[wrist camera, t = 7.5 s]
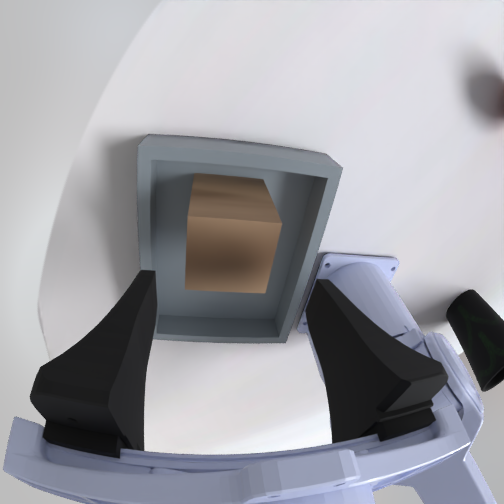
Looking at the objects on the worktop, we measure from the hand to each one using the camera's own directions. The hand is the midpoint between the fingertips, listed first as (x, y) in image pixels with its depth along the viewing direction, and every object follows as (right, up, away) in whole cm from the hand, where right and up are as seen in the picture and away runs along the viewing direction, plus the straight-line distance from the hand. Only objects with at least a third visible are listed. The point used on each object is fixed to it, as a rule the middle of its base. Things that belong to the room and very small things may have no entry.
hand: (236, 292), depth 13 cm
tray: (-1, +2, +10) cm, 10 cm away
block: (-1, +5, +7) cm, 9 cm away
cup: (+29, -5, +20) cm, 35 cm away
